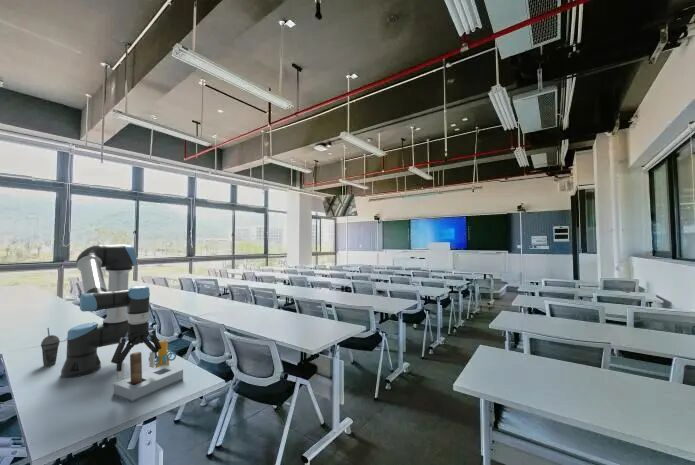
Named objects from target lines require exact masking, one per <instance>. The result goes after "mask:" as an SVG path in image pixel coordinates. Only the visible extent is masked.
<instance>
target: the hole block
mask: <svg viewBox="0 0 695 465" xmlns="http://www.w3.org/2000/svg"><path fill="white" fill-rule="evenodd" d="M182 381H184V369H181V368H178V367H174V366H171V365H169V366H167V365H162V366H159V367H157V368H155V367H154V368H152V369H149V370H146V371H144V372H143V371H142V382H141V383H139V384H136V385H131V376H130V377H128V378H124V379H121V380H120V381H117V382H114V383H113V389H112V390H113V391H112V392H113V395H112V396H114V397H117V398H119V399H122V400H124V401H127V402H130V403H132V404H134V403H136V402H138V401H140V400H142V399H145V398H146V397H149V396H151V395H153V394H155V393H158V392H160V391H162V390H164V389H167V388H169V387H171V386H174V385H175V384H178V383H180V382H182Z"/></svg>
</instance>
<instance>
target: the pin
mask: <svg viewBox="0 0 695 465" xmlns="http://www.w3.org/2000/svg"><path fill="white" fill-rule="evenodd" d="M142 358H143V357H142V352H141V351H137V352H133V353H131V354H130V353H129V364H130V365H129V366H130V369H129V370H130V371H129V372H130V377H131V385H136V384H139V383H141V382H142V373H143V368H142V366H143V363H142V362H143V361H142Z"/></svg>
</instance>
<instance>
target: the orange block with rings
mask: <svg viewBox="0 0 695 465" xmlns="http://www.w3.org/2000/svg"><path fill="white" fill-rule="evenodd" d="M158 341H159V343H160V345H161V349H159V351H158V352H157V358H156V359H155V367H154V368H157V367H159V366H162V365H167V366H170V362H172V361H175V359H176V358H177V354H176V352H173V351H172V350H168V341H169V340H168V339H161V340H158ZM172 356H173V358H172ZM148 362H149V363H150V356H149V357H148Z"/></svg>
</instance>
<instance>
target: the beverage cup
mask: <svg viewBox="0 0 695 465" xmlns="http://www.w3.org/2000/svg"><path fill="white" fill-rule="evenodd" d="M60 342H61V341H60V337H58V336H57V335H54V334H50V328H49V327H47V336H46V337H44V338H43V339H42V341H41V343H40V346H41V347H40V348H41V350H42V351H41V352H42V364H43V367H45V366H46V367H51V365H52V366H54V364H55V365H56V362H57V358H58V350H59V346H60Z"/></svg>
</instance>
